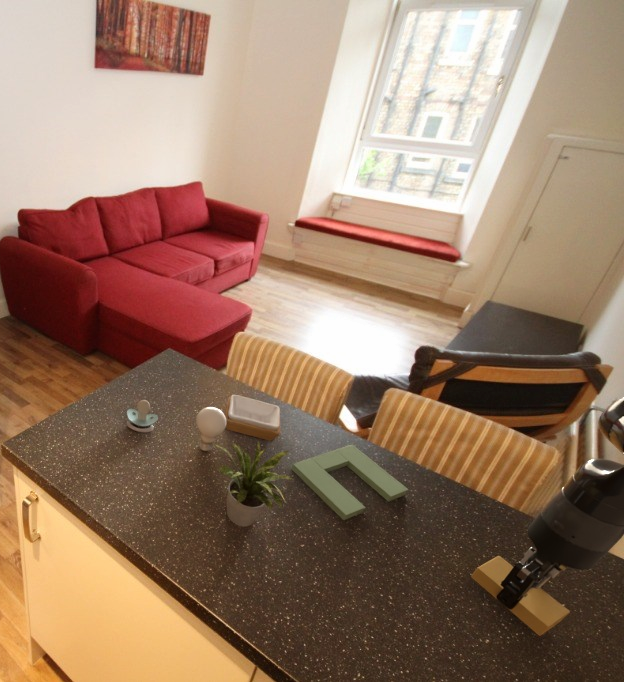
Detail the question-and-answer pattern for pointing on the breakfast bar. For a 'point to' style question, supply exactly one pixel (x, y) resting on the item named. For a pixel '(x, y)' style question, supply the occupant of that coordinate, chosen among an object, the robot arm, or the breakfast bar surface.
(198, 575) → the breakfast bar surface
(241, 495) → the house plant
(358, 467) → the green u-shaped block
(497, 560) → the ochre pad
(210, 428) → the lightbulb
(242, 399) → the soap dish
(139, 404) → the pacifier
